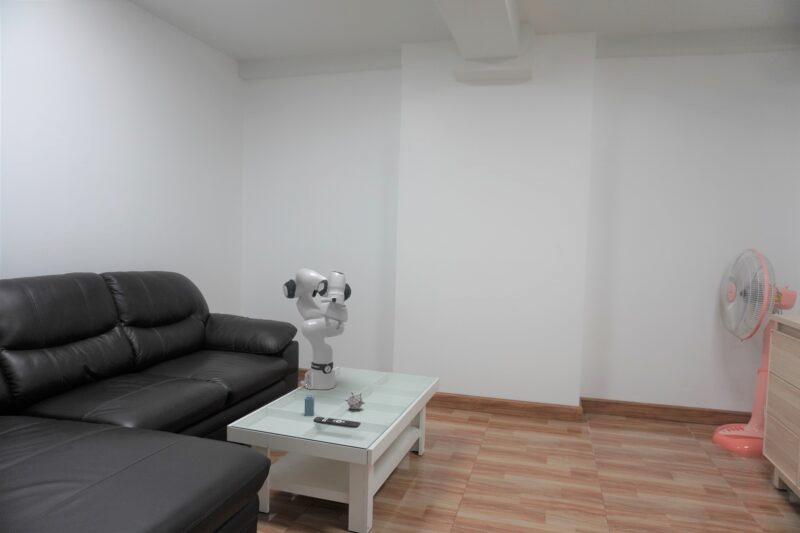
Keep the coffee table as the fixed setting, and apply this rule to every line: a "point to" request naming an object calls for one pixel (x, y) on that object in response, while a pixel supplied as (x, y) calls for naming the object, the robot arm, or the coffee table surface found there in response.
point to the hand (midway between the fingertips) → (333, 328)
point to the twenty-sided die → (355, 401)
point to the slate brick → (309, 406)
